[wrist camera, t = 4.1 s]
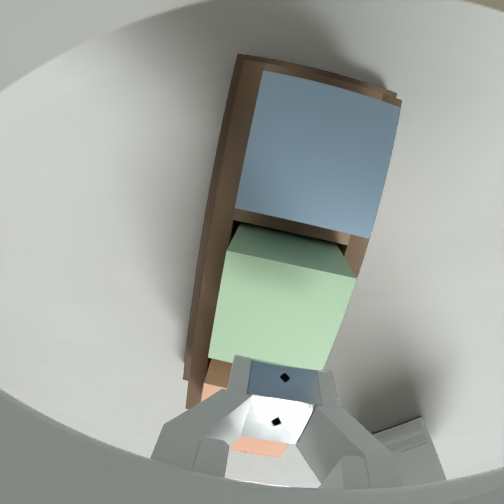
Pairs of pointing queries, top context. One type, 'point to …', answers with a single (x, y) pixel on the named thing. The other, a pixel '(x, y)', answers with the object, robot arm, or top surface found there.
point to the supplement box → (413, 452)
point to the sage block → (280, 298)
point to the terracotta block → (213, 383)
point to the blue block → (317, 154)
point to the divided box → (229, 218)
